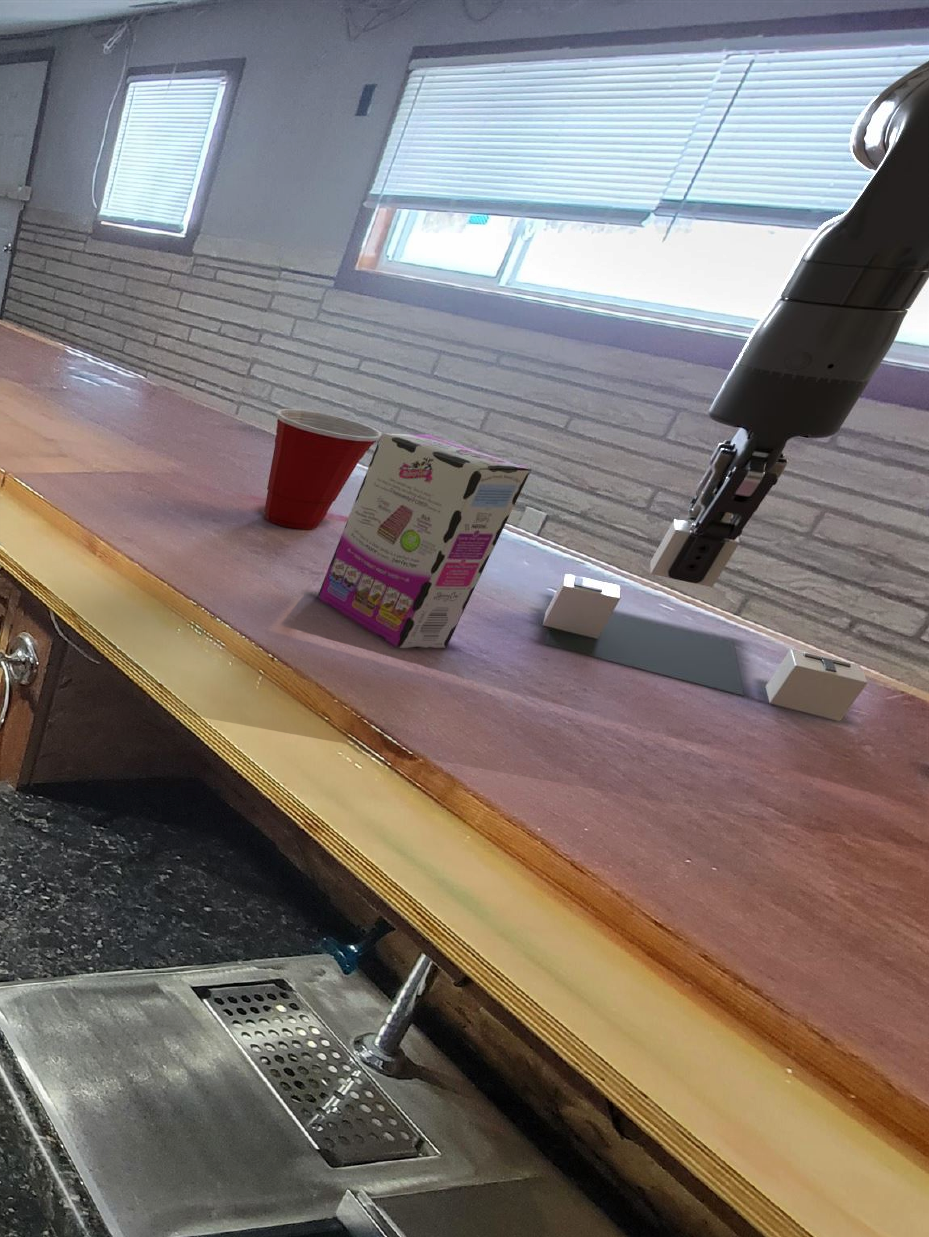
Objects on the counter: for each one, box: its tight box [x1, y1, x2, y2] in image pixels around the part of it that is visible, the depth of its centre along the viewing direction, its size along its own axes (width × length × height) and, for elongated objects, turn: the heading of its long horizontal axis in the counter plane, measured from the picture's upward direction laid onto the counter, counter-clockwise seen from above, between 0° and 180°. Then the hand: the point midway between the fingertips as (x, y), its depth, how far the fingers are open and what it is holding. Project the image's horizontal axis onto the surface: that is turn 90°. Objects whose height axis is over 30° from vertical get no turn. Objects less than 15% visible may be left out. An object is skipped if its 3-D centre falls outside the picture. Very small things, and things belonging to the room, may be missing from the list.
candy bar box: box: [316, 433, 532, 649], centre depth 86 cm, size 11×5×16 cm, turn 6°
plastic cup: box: [263, 408, 383, 530], centre depth 112 cm, size 11×11×12 cm
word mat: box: [545, 612, 745, 697], centre depth 87 cm, size 13×14×1 cm
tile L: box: [542, 573, 622, 639], centre depth 89 cm, size 4×4×4 cm
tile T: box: [765, 648, 868, 722], centre depth 78 cm, size 4×4×4 cm
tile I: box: [650, 518, 741, 588], centre depth 83 cm, size 4×4×4 cm
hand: (682, 571), depth 84 cm, fingers closed on tile I, 4 cm apart
